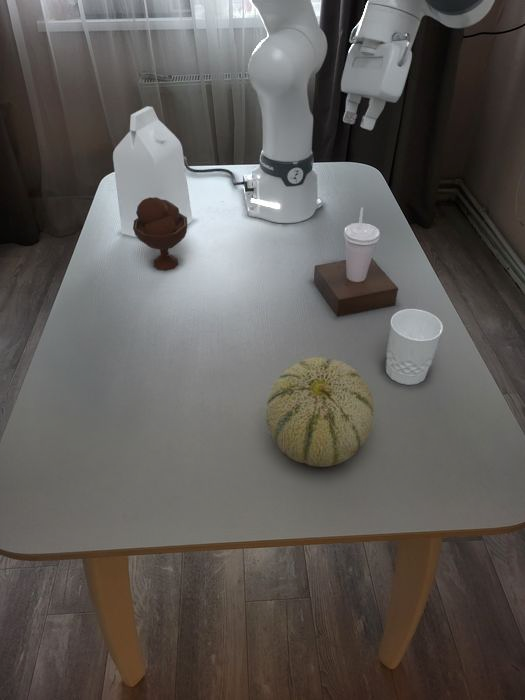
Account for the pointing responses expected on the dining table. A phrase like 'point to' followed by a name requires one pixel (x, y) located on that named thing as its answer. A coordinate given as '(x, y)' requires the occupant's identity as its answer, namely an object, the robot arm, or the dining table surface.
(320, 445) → the cantaloupe
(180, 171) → the milk
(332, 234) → the dining table surface
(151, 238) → the ice cream bowl
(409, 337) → the white cup
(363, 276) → the smoothie
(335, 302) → the block
